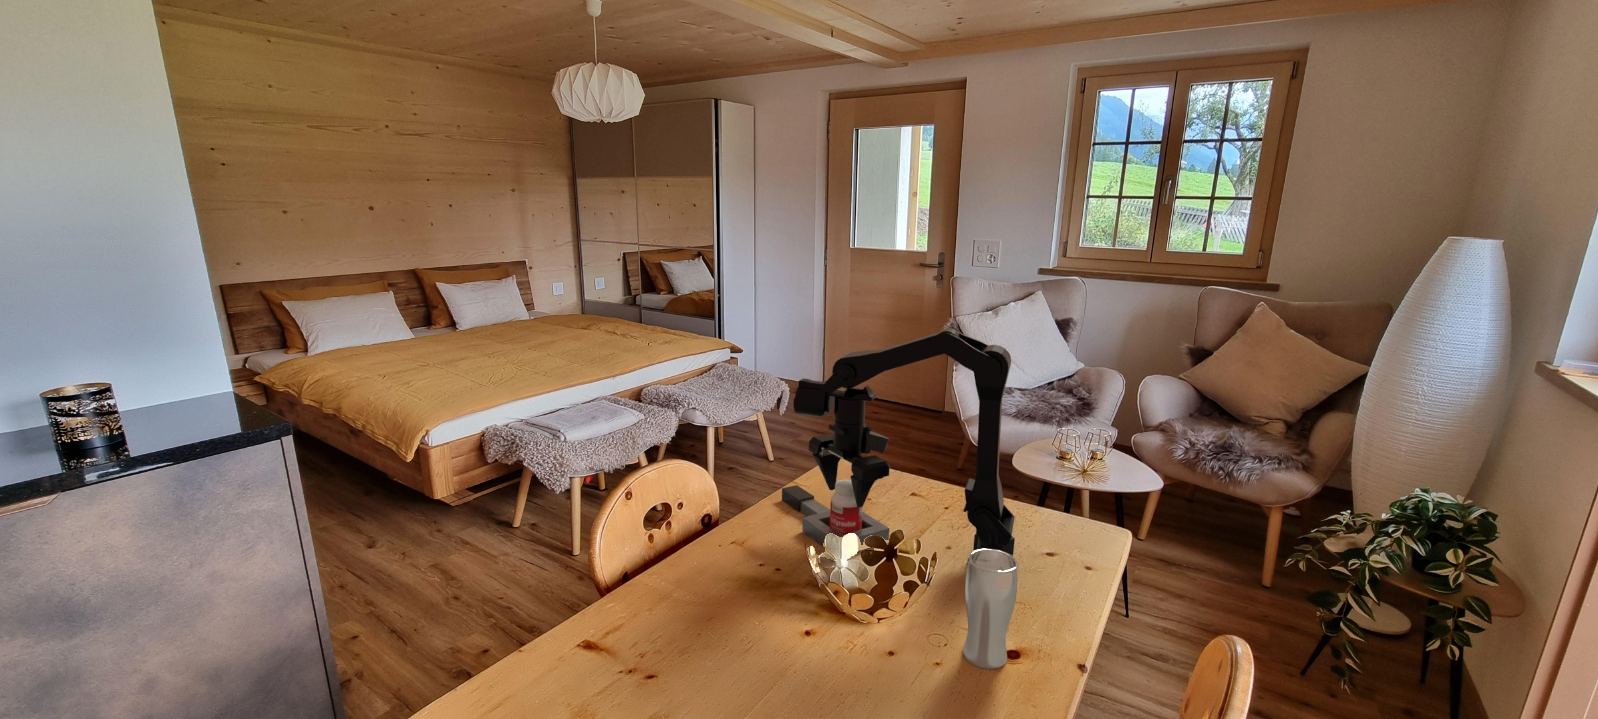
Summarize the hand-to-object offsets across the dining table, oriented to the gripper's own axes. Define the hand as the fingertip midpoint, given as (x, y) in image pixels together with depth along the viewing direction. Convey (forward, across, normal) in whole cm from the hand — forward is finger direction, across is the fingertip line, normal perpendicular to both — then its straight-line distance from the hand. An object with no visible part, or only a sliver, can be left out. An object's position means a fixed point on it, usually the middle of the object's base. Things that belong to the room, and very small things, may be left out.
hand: (845, 498), depth 132 cm
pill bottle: (+8, 0, 0) cm, 8 cm away
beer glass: (+8, -40, +4) cm, 41 cm away
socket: (+8, +7, 0) cm, 11 cm away
